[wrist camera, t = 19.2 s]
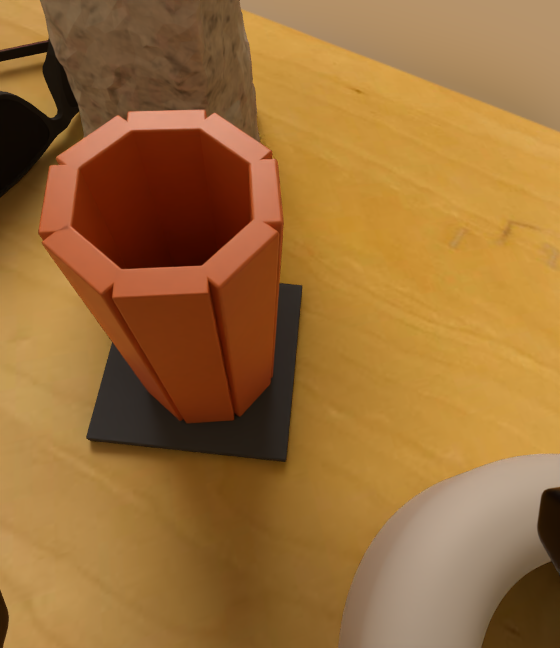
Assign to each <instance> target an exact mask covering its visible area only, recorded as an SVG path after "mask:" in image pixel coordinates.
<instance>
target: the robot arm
mask: <svg viewBox="0 0 560 648" xmlns="http://www.w3.org/2000/svg"><path fill="white" fill-rule="evenodd" d="M537 532H538V536H539V539H540V541H541V543H542V545H543V547H544V549H545V550H546V552H547V554H548V556H549V557H550V559H551V561H552V563H553V564H554V566H555V568H556V570H557V571H558V573H559V575H560V487H555V488H549V489H546V490H544V491H543V493H542V495H541V500H540V507H539V514H538V521H537ZM8 622H9V615H8V610H7V607H6V604H5V601H4V599H3V596H2V593H1V591H0V648H3V644H4V641H5V637H6V633H7V629H8Z"/></svg>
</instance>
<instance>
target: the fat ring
mask: <svg viewBox="0 0 560 648" xmlns="http://www.w3.org/2000/svg"><path fill="white" fill-rule="evenodd" d="M555 487H560V454H534V455H524V456H517V457H511V458H507V459H503V460H499V461H495V462H492V463H489V464H486V465H483V466H481V467H478V468H475V469H473V470H470V471H467V472H465V473H462V474H459V475H457V476H454V477H451V478H449V479H446V480H444V481H441V482H439V483H437V484H435V485H433V486H431V487H429V488H427V489H426V490H424V491H422V492H421V493H419V494H418V495H416V496H415V497H413V498H412V499H411V500H409V501H408V502H407V503H406V504H404V505H403V506H402V507H401V508H400V509H399V510H398V511H397V512H396V513H395V514H394V515H393V516H392V517H391V518H390V519H389V520H388V521H387V522H386V523H385V525H384V526H383V527H382V528H381V530H380V531H379V532H378V534H377V535H376V537H375V538H374V539H373V541H372V542H371V544H370V546H369V547H368V549H367V551H366V553H365V554H364V556H363V558H362V560H361V562H360V564H359V566H358V569H357V571H356V573H355V576H354V578H353V581H352V584H351V587H350V590H349V593H348V596H347V600H346V604H345V608H344V612H343V617H342V622H341V629H340V636H339V645H338V648H481V647H482V643H483V640H484V636H485V633H486V630H487V627H488V625H489V622H490V620H491V618H492V616H493V614H494V612H495V610H496V608H497V606H498V605H499V603H500V602H501V600H502V599H503V597H504V596H505V595H506V593H507V592H508V591H509V590H510V589H511V587H512V586H513V585H514V584H515V583H516V582H517V581H519V580H520V579H521V578H522V577H523V576H524V575H526V574H527V573H529V572H530V571H532V570H533V569H535V568H537V567H539V566H541V565H543V564H546V563H548V562H551V559H550V557H549V556H548V554H547V552H546V550H545V549H544V547H543V545H542V543H541V541H540V539H539V536H538V532H537V521H538V514H539V507H540V500H541V495H542V493H543V491H544V490H546V489H549V488H555Z"/></svg>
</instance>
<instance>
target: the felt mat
mask: <svg viewBox="0 0 560 648" xmlns="http://www.w3.org/2000/svg"><path fill="white" fill-rule="evenodd" d="M301 295H302V286H301V285H292V284H283V283H279V296H278V310H277V325H276V339H275V353H274V367H273V377H272V378H271V382H270V385H269V386H268V387H267V388H266V389H265V390H264V391H263V393H262V394H261V395H260V396H259V397H258V398H257V399H256V400H255V401H254V402H253V404H252V405H251V406H250V407H249V408H248V409H247V410H246V411H245V412H244V413H243V414H242V416H240V417H239V416H237V415H236V414H235V413H234V420H232V421H217V422H202V423H186V422H185V420H184V419H183V420H182V421H179V420H178V419H177V418H176V417H175V416H174V415H173V414H172V413H171V412H169V411H168V410H167V409H166V408H165V407H164V406H163V405H162V404H161V403H160V402H159V401H158V400H156V399H155V398H154V397H153V396H152V395H151V394H150V393H149V392H148V391H147V390H146V388H145V387H144V385H143V384H142V383H141V381H140V380H139V378H138V377H137V376H136V374H135V373H134V371H133V370H132V369H131V367H130V366H129V365H128V363H127V362H126V360H125V359H124V358H123V356H122V355H121V353H120V352H119V351H118V349H117V348H116V346H115V345H114V344H113V342H112V345H111V349H110V352H109V356H108V360H107V363H106V367H105V371H104V374H103V378H102V382H101V385H100V389H99V392H98V396H97V400H96V403H95V407H94V411H93V414H92V418H91V422H90V425H89V429H88V433H87V436H86V438H87V439H88V440H90V441H99V442H108V443H118V444H127V445H136V446H145V447H154V448H163V449H173V450H182V451H191V452H200V453H209V454H218V455H228V456H237V457H246V458H255V459H264V460H273V461H283V462H285V461H286V457H287V447H288V436H289V425H290V414H291V403H292V392H293V381H294V371H295V360H296V349H297V338H298V327H299V316H300V305H301Z"/></svg>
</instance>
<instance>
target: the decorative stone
mask: <svg viewBox="0 0 560 648" xmlns="http://www.w3.org/2000/svg"><path fill="white" fill-rule="evenodd" d="M40 1H41V5H42V8H43V11H44V14H45V18H46V23H47V29H48V34H49V39H50V42H51V44H52V46H53V48H54V51H55V55H56V58H57V59H58V61H59V63H60V64H61V65H62V66H63V68H64V70H65V72H66V74H67V78H68V81H69V84H70V86H71V89H72V91H73V94H74V96H75V99H76V101H77V103H78V107H79V112H80V116H81V121H82V126H83V131H84V138H85V137H86V136H87V135H89V134H90V133H92V132H93V131H95V130H96V129H98V128H99V127H101V126H102V125H104V124H105V123H106V122H108V121H109V120H111V119H112V118H114V117H115V116H117V115H119V116H121V117H122V118H123V119H125V120H126V121H127V113H128V112H129V111H165V110H205V111H206V115H207V117H209V116H210V115H211V114H213V113H217V114H218V115H220V116H221V117H223V118H224V119H226V120H227V121H229V122H230V123H231V124H233V125H234V126H236V127H237V128H239V129H240V130H242V131H243V132H245V133H246V134H248V135H249V136H251V137H252V138H254V139H255V140H257V141H258V142H260V137H259V133H258V127H257V108H256V93H255V87H254V84H253V83H252V80H253V77H252V64H251V55H250V47H249V42H248V40H247V36H246V32H245V28H244V23H243V15H242V12H241V8H240V2H239V1H240V0H40Z"/></svg>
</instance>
